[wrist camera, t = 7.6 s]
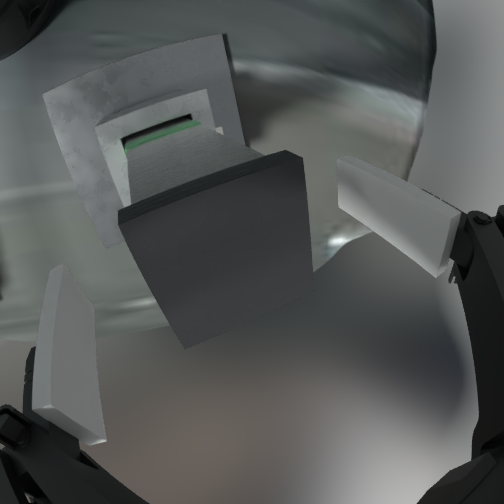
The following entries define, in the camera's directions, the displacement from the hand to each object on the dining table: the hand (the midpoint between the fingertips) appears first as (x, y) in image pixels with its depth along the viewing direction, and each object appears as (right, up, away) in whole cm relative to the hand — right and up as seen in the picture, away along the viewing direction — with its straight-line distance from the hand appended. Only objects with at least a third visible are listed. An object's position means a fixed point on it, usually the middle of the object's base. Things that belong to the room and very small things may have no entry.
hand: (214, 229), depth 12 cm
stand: (-10, +13, +20) cm, 26 cm away
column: (-7, +9, +15) cm, 19 cm away
